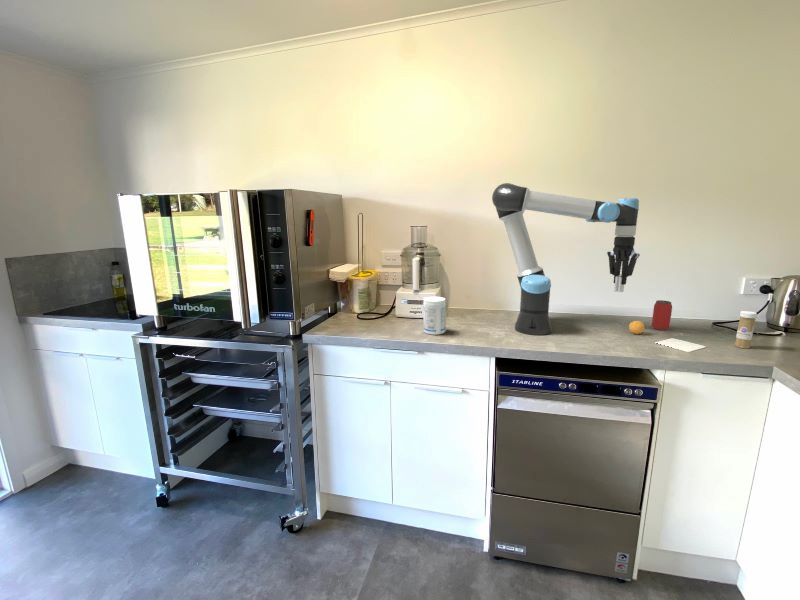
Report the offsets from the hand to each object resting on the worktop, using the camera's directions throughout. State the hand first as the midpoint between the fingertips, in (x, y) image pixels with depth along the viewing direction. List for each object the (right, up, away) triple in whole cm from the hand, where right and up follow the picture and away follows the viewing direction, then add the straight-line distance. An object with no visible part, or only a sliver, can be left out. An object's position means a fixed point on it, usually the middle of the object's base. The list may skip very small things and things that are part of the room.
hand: (618, 291), depth 167 cm
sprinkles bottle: (+34, -21, -22) cm, 46 cm away
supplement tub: (-80, -18, 0) cm, 82 cm away
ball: (+4, -15, -6) cm, 17 cm away
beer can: (+20, -16, +3) cm, 26 cm away
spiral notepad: (+12, -21, -20) cm, 31 cm away
